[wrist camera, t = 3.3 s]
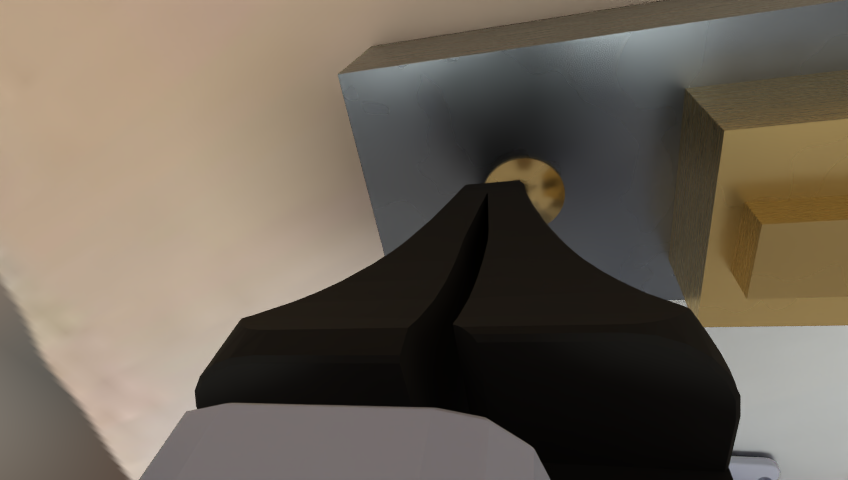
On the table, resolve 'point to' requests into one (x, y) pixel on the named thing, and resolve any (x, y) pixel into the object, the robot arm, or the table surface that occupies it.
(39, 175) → the table surface
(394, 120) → the steel plate with brass
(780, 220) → the lever cap
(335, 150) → the table surface
